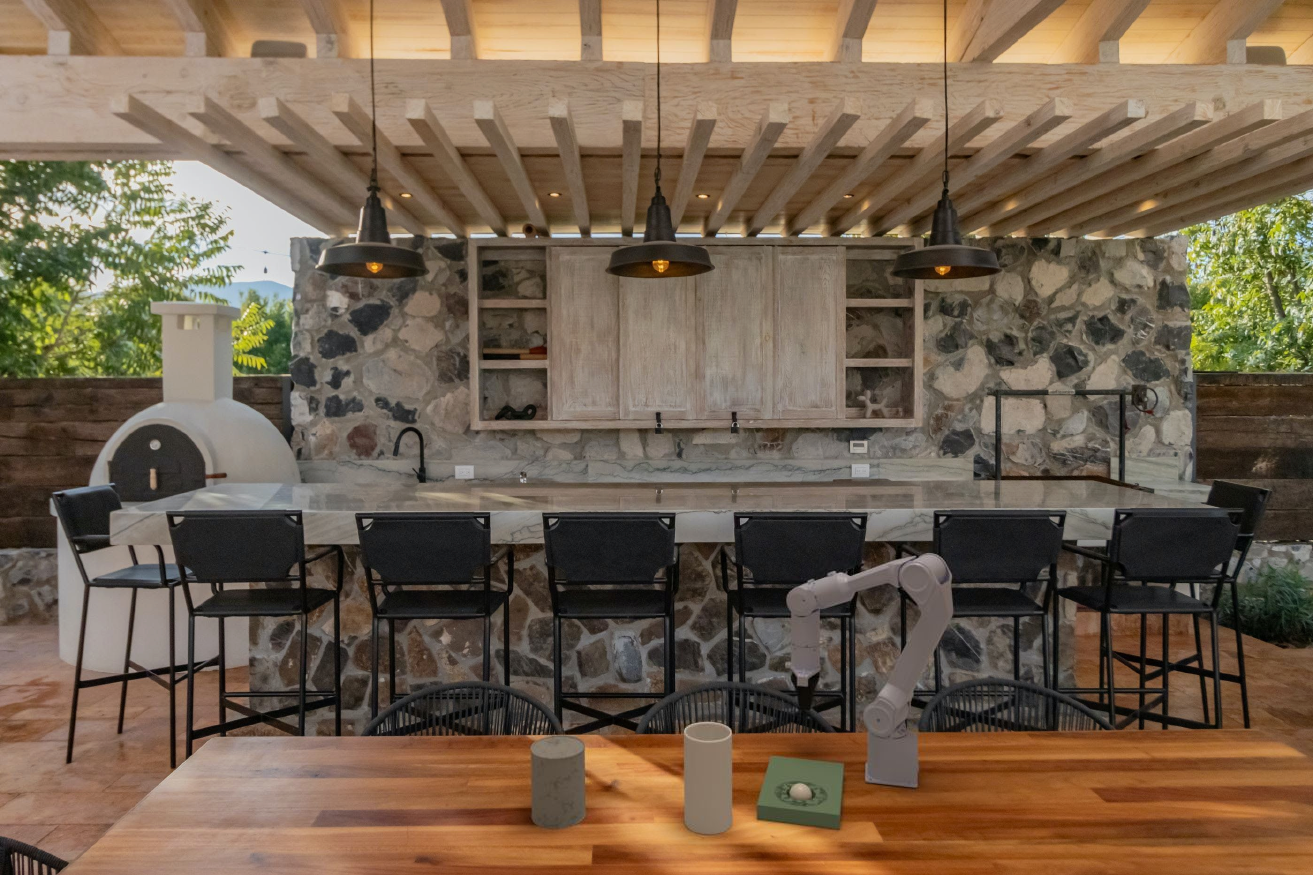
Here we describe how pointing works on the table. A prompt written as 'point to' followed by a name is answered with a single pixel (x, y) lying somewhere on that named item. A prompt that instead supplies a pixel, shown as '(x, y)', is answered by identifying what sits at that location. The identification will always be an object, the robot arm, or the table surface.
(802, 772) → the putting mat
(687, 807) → the cup
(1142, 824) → the table surface
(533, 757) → the grey marble cylinder
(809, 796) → the ball
